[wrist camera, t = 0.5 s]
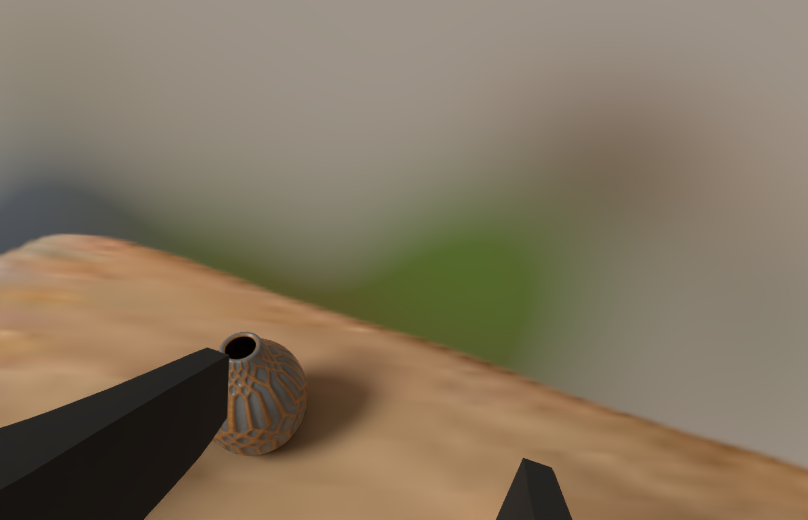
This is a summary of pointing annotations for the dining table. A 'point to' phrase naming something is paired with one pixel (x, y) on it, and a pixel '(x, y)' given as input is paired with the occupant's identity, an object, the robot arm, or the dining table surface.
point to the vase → (261, 395)
